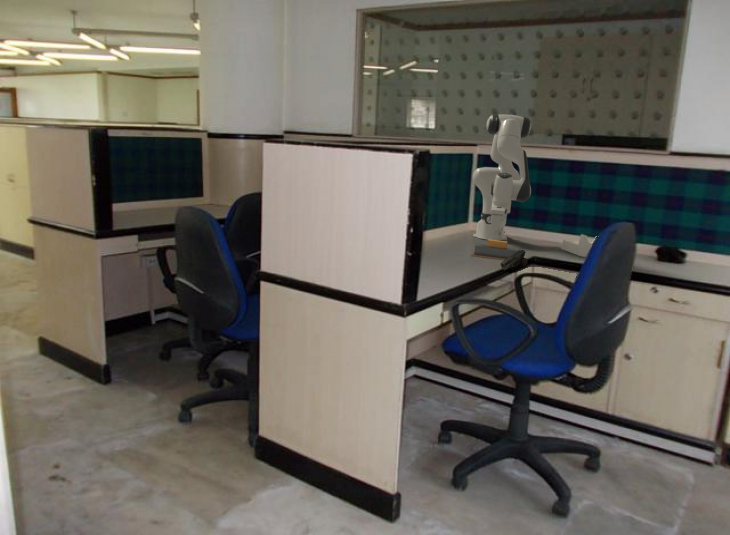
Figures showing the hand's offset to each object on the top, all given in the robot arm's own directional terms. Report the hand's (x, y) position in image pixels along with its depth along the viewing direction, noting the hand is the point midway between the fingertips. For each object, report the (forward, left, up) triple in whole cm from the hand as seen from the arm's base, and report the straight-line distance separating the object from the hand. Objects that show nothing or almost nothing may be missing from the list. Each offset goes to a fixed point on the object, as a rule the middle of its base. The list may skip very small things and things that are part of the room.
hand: (497, 237), depth 291 cm
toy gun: (+22, +12, -10) cm, 26 cm away
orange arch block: (0, 0, -8) cm, 8 cm away
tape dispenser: (-36, +36, -10) cm, 52 cm away
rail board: (0, 0, -9) cm, 9 cm away
